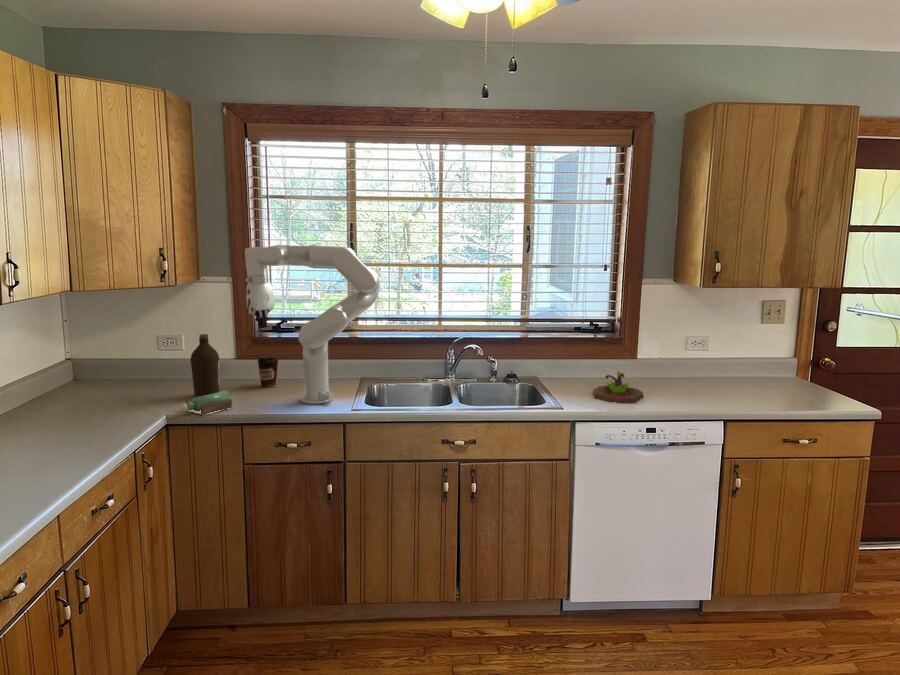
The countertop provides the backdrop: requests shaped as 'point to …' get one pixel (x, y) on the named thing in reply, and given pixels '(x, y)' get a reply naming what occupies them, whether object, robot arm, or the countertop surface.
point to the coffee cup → (268, 370)
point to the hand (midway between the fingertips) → (262, 327)
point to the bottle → (204, 401)
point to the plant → (617, 391)
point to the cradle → (215, 406)
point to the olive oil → (205, 368)
